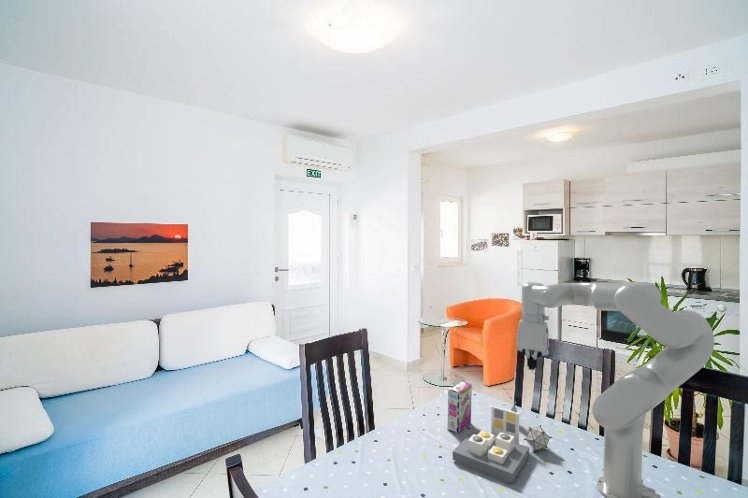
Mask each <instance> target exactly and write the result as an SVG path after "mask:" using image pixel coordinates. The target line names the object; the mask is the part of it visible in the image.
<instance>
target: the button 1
mask: <svg viewBox="0 0 748 498" xmlns="http://www.w3.org/2000/svg"><path fill="white" fill-rule="evenodd" d="M468 452H469V453H472V454H475V455H477V456H480V457H483V456H484V455H485V453H486V452H487V438H484V437H481V436H478V435H475V434H473V435H472V436H471V437H470V438H469V440H468Z"/></svg>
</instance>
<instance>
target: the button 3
mask: <svg viewBox="0 0 748 498" xmlns="http://www.w3.org/2000/svg"><path fill="white" fill-rule="evenodd" d="M496 447H499V448H502V449H504V450H507V451H508V454H509V455H511V454H512V452H513V451H514V436H511V435H508V434H505V433H502V432H500V433H499V435H498V436H497V437H496Z"/></svg>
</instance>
